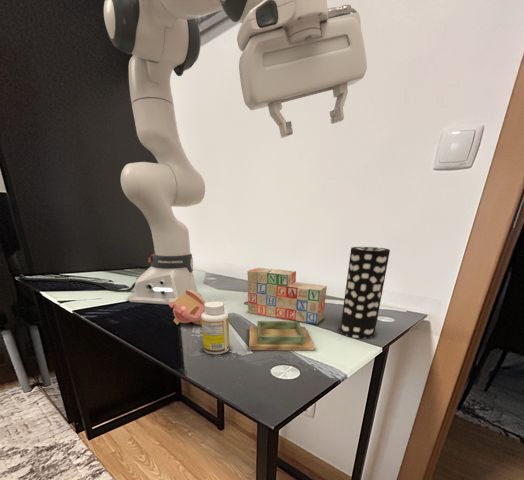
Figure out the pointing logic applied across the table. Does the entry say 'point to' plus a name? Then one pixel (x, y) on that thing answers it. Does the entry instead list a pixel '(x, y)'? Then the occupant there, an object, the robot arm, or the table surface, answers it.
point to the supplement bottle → (215, 328)
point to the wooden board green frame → (279, 336)
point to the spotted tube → (363, 291)
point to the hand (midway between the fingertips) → (312, 129)
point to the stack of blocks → (284, 296)
